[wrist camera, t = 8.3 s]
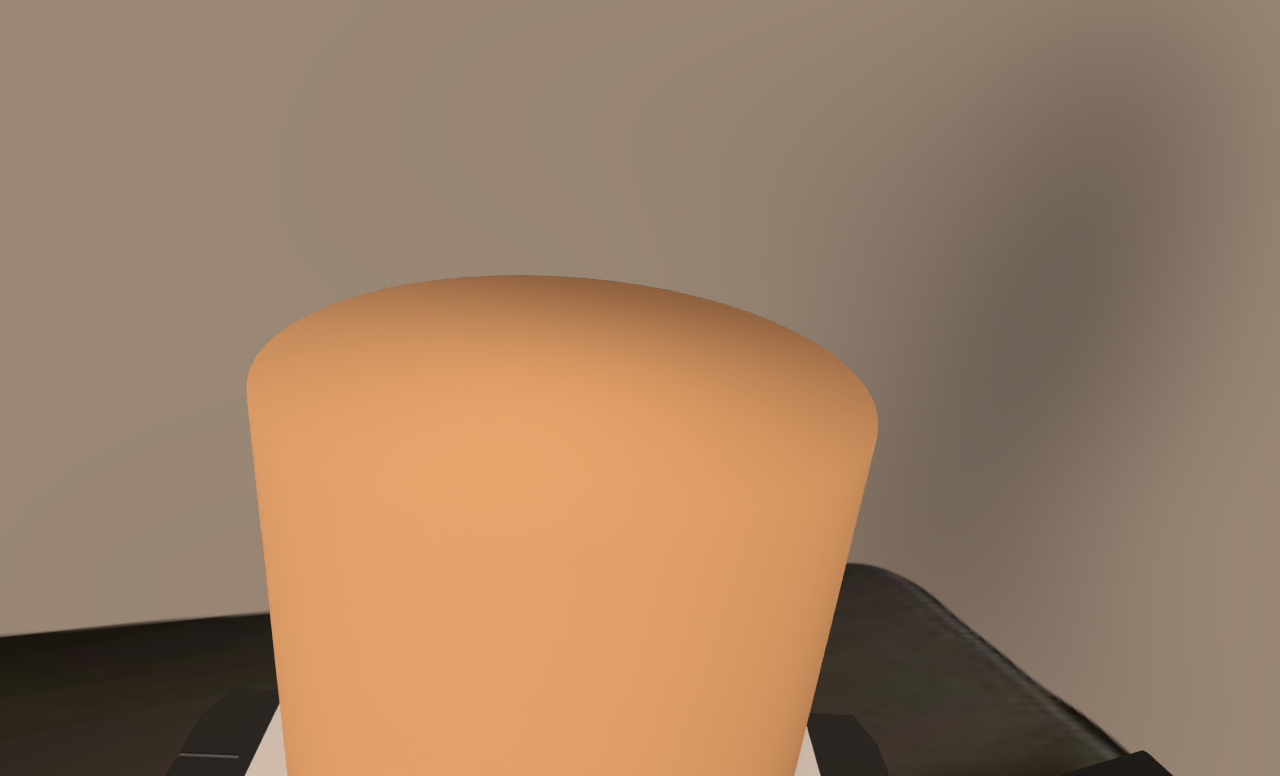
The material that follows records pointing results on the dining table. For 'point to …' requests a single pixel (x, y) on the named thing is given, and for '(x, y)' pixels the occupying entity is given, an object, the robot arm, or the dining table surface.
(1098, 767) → the digital camera
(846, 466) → the copper rod
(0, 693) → the dining table surface
